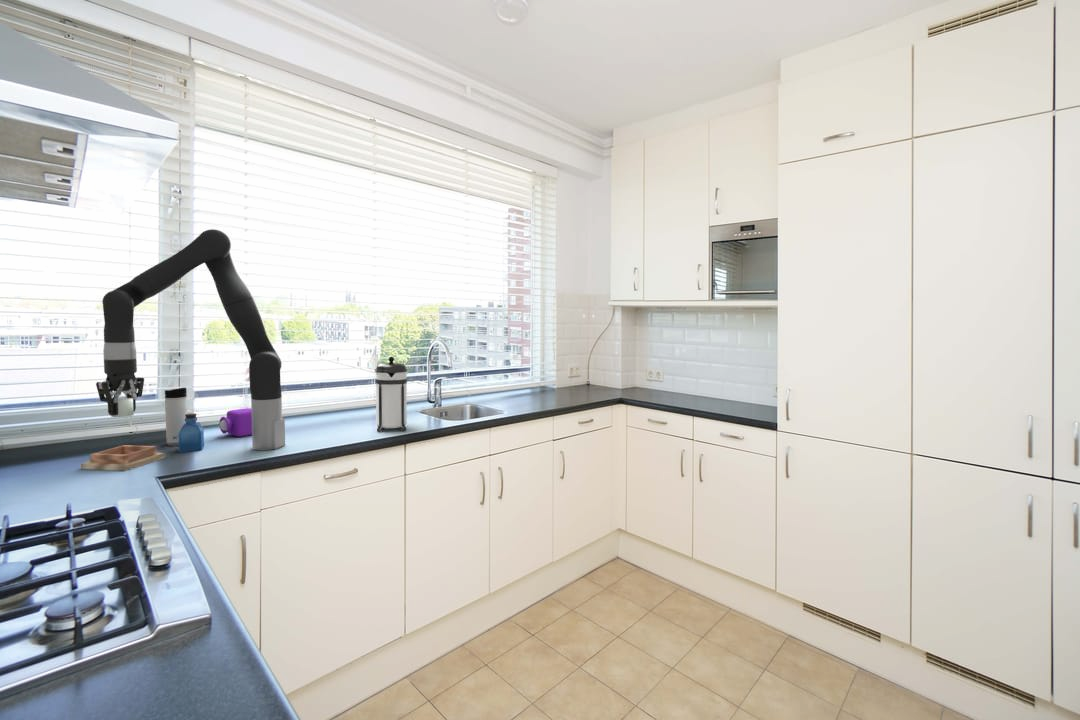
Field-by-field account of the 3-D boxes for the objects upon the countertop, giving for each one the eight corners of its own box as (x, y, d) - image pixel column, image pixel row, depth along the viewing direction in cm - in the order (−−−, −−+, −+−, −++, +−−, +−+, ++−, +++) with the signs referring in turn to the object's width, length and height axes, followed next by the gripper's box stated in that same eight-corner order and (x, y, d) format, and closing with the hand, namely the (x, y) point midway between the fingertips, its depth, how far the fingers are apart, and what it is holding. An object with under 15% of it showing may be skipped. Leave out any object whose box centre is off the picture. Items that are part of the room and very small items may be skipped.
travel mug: (177, 446, 172) (175, 389, 171) (162, 445, 174) (159, 388, 172) (193, 442, 178) (191, 386, 177) (178, 441, 180) (176, 386, 178)
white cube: (138, 414, 153) (137, 398, 153) (122, 417, 148) (122, 400, 148) (122, 413, 153) (121, 397, 153) (106, 416, 148) (105, 400, 148)
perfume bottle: (179, 452, 165) (177, 416, 164) (182, 448, 171) (181, 413, 170) (201, 450, 168) (200, 415, 167) (204, 446, 173) (203, 412, 173)
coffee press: (419, 428, 209) (419, 356, 207) (389, 434, 195) (389, 358, 193) (391, 422, 218) (391, 354, 216) (360, 429, 205) (360, 356, 202)
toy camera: (213, 437, 187) (212, 410, 186) (247, 430, 199) (246, 405, 198) (233, 440, 182) (232, 413, 182) (266, 432, 195) (265, 407, 194)
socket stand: (165, 457, 158) (164, 445, 158) (125, 470, 144) (125, 457, 144) (124, 456, 159) (123, 443, 159) (80, 468, 145) (80, 455, 145)
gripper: (109, 359, 142) (112, 418, 143) (152, 356, 156) (154, 409, 158) (85, 358, 143) (87, 417, 144) (129, 355, 157) (131, 409, 158)
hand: (122, 413), depth 151 cm, fingers closed on white cube, 5 cm apart
